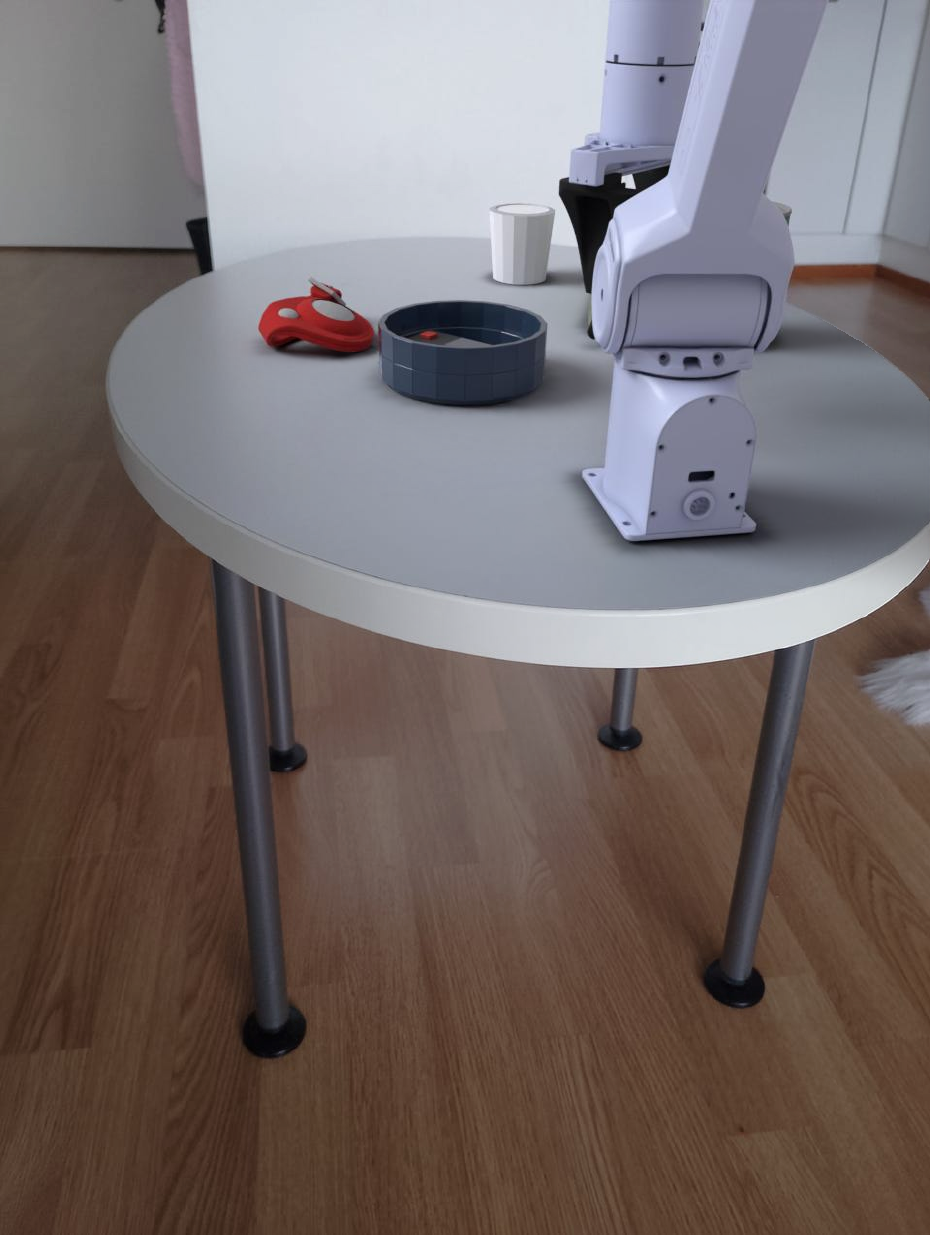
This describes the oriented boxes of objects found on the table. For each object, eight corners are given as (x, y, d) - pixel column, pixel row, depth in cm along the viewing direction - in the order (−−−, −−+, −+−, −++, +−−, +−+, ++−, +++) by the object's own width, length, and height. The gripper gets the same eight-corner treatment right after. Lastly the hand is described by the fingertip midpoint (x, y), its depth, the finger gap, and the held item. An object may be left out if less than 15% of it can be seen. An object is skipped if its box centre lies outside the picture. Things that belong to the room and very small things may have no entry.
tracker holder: (397, 336, 90) (289, 323, 84) (382, 382, 92) (276, 372, 86) (343, 271, 97) (240, 255, 91) (330, 315, 99) (229, 303, 94)
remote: (519, 379, 83) (521, 347, 81) (494, 390, 80) (495, 358, 79) (430, 356, 87) (430, 325, 86) (403, 366, 85) (403, 335, 84)
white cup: (479, 282, 110) (481, 212, 106) (496, 268, 115) (499, 200, 112) (543, 288, 108) (547, 217, 105) (558, 273, 114) (562, 205, 110)
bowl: (562, 403, 80) (566, 344, 77) (391, 411, 77) (390, 351, 75) (522, 350, 90) (524, 297, 88) (371, 356, 88) (370, 302, 86)
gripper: (650, 54, 73) (630, 256, 80) (532, 64, 63) (522, 294, 70) (744, 60, 69) (715, 271, 77) (636, 72, 60) (614, 313, 67)
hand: (629, 283), depth 73 cm, fingers open, 7 cm apart
